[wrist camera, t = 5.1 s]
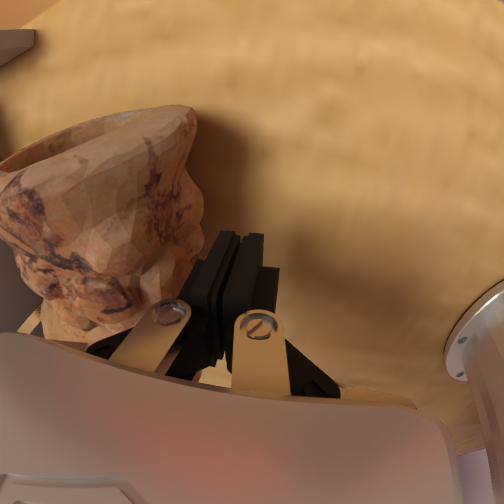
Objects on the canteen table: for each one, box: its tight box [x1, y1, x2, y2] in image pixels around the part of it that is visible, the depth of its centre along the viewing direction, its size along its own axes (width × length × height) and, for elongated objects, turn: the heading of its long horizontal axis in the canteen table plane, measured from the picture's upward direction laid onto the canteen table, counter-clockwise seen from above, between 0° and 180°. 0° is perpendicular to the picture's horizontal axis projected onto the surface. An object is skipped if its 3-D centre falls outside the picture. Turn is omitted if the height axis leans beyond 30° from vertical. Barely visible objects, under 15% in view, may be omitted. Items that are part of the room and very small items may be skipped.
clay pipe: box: [0, 105, 205, 346], centre depth 15 cm, size 19×11×15 cm
